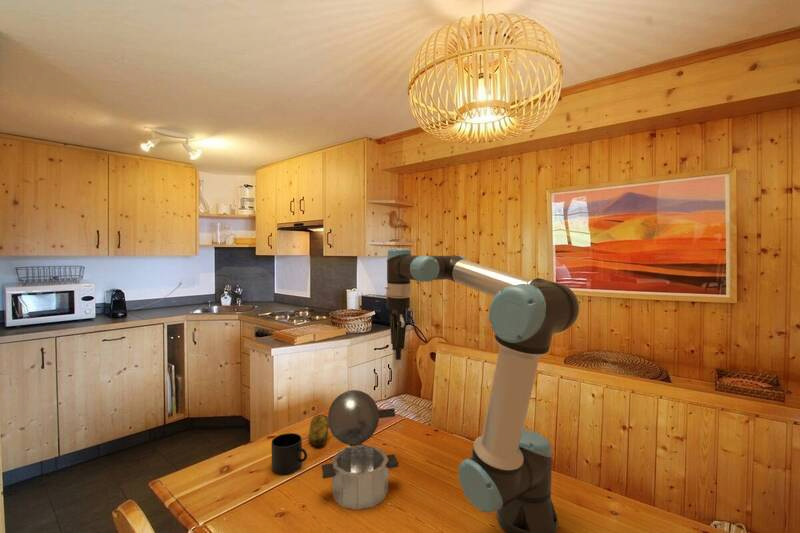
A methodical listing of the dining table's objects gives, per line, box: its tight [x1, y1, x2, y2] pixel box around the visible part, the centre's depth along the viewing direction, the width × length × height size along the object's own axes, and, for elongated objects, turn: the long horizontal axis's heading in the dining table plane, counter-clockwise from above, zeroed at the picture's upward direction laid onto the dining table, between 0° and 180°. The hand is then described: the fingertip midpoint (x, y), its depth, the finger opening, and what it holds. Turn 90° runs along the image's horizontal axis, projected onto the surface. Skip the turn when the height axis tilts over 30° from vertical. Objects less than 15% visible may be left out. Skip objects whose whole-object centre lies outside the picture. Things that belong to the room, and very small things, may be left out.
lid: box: [327, 389, 396, 447], centre depth 124 cm, size 17×22×3 cm
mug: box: [271, 432, 308, 476], centre depth 123 cm, size 9×12×9 cm
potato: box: [308, 414, 330, 447], centre depth 141 cm, size 8×13×8 cm, turn 172°
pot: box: [321, 444, 399, 511], centre depth 112 cm, size 17×22×9 cm
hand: (396, 368), depth 122 cm, fingers closed
